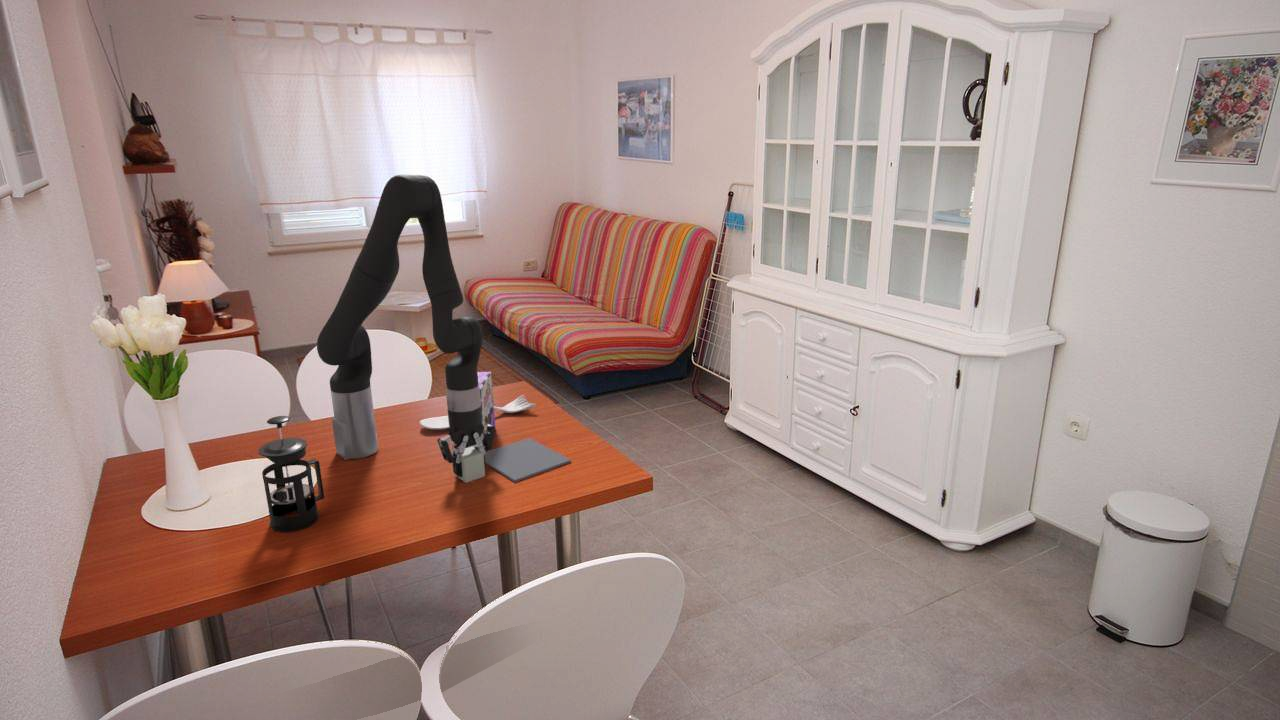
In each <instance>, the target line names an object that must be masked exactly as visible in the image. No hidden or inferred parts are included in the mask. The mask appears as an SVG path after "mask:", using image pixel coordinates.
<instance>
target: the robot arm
mask: <svg viewBox="0 0 1280 720" xmlns="http://www.w3.org/2000/svg"><path fill="white" fill-rule="evenodd" d="M375 211H376V212H375V214H374V218H373V221H372V224H371V227H370V229H369V230H368V233H367V236H366V239H365V240H364V243H363V246H362V247H361V250H360V252H359V254H358V256H357V258H356V260H355V263H354V264H353V267H352V269H351V271H350V274H349V277H348V279H347V281H346V282H345V283H346V284H345V285H344V288H343V291H342V292H341V294H340V296H339V299H338V301H337V303H336V306H335V307H334V309H333V311H332V313H331V315H330V316H329V318H328V320H327V321H326V323H325V325H324V326H323V327H322V329H321V331H320V333H319V335H318V336H317V341H316V350H317V354H318V357H319V358H320V360H321V361H322V362H323V363H324V364H326V365H328V366H335V367H336V366H338V367H337V368H336V370H335V371H334V373H333V374H332V375H331V376H330V379H329V387H330V394H331V402H332V410H333V417H332V418H331V423H332V429H333V430H332V431H333V435H334V436H333V437H334V443H335V449H336V450H335V453H337V454H338V456H340V457H341V458H342V459H344V460H352V459H355V460H356V459H361V458H365V457H366V458H367V457H370V456H371V455H374V454H376V453H377V452H378V451H379V443H378V436H377V428H376V427H377V426H376V420H375V419H376V418H375V410H374V403H373V394H372V385H371V377H372V374H373V361H372V348H371V339H370V336H369V333H368V331H367V330H366V328H365V327H364V325H363V323H364V322H365V320H367V319H368V317H370V315H372V313H373V312H374V311H375V310H376V309H377V308H378V307H379V306H380V305H381V304H382V302H383V301H384V300H385V298H386V297H387V296H388V294H389V293H390V291H391V289H392V287H393V285H394V283H395V281H396V278H397V277H398V274H399V270H400V254H399V250H398V249H399V248H398V245H399V244H398V243H399V240H400V236H401V234H402V233H403V230H404V229H405V226H406V224H407V223H408V222H409V220H410V219H417V221H418V223H419V225H420V228H421V230H422V236H423V246H424V247H423V257H422V258H423V259H422V265H421V266H422V267H421V268H422V269H421V271H422V279H423V282H424V285H425V289H426V292H427V295H428V299H429V301H430V305H431V317H432V318H431V319H432V338H433V342H434V344H435V345H436V347H437V348H438V349H439V350H440V352H442V353H444V354H448V355H449V354H450V355H451V354H455V353H457V354H456V355H455V357H454V358H453V359H451V360H449V361H448V362H447V363H446V365H445V370H444V373H445V381H446V382H445V384H446V385H445V386H446V406H447V416H448V420H449V427H450V428H449V432H448V435H445V437H438V438H437V444H438V447H439V450H440V452H441V455H442V458H443V459H444V460H445V461H446V462H447V463H449V464H452V469H453V470H452V471H453V474H454V475H457V476H458V477H462V476H463V474H462V463H461V457H462V454H464V451H465V448H467V447H469V446H474V448H475V449H478V450H479V451H481V452H483V455H484V468H485V467H486V464H485V453H486V452H487V451H490V450H493V443H494V439H495V437H494V436H495V431H496V430H495V429H496V426H495V427H494V426H492V425H490V424H488V423H487V424H486V425H483V424H482V409H481V396H480V390H479V385H478V372H479V371H478V366H479V361H480V357H481V350H482V344H483V338H484V337H483V330H482V327H481V324H480V323H479V321H477V319H476V318H474V317H473V316H463V317H459V318H454V319H453V313H454V309H457V308H458V307H460V306H461V305H463V303H464V296H463V292H462V289H461V286H460V283H459V280H458V277H457V274H456V271H455V266H454V262H453V259H452V254H451V251H450V244H449V243H450V242H449V239H448V238H449V237H448V233H447V225H446V220H445V213H444V206H443V199H442V195H441V191H440V189H439V187H438V184H437V183H436V181H435V180H434V179H432V178H431V177H430V176H427V175H421V174H396V175H394V176H392V177H390V179H388V180H387V182H386V183H385V185H384V188H383V189H382V192H381V196H380V199H379V201H378V205H377V208H376V210H375ZM482 432H483V433H484V438H483V444H482V442H481V440H480V436H481V434H482ZM451 441H452V442H453V443H452V448H451V449H450V447H451ZM451 450H452V452H451ZM457 476H456V477H457ZM458 477H457V478H458Z"/></svg>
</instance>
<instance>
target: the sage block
mask: <svg viewBox="0 0 1280 720" xmlns="http://www.w3.org/2000/svg"><path fill="white" fill-rule="evenodd" d="M461 463H462V474H463V476H462V477H458V476H457V475H455V474H454V475H455V476H456V478H458V479H460V480H462V481H463V483H466V484H467V483H470V482H472V481H475V480H476V481H477V480H478V479H481V478H484V477H486V471H485V467H484V455H483V452H481V451H479V450H478V449H475V448H474V447H473V446H472V447H468V448H465V451H464V454H462V457H461Z"/></svg>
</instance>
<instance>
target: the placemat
mask: <svg viewBox="0 0 1280 720" xmlns="http://www.w3.org/2000/svg"><path fill="white" fill-rule="evenodd" d="M571 461H572V460H571V459H570V458H568V457H567V456H564V455H563V454H560V453H559V452H557V451H555V450H553V449H552V448H549V447H547V446H546V445H544V444H542V443H540V442H538V441H536V440H534V439H533V438H531V437H529V438H525V439H522V440H519V441H516V442H515V441H514V442H512V443H510V444H506V445H503V446H500V447H497V448H493V449H491V450H490V451H489V450H488V451H487V452H486V453H485V466H488V467H489V468H491V469H493V470H495V471H496V472H498V473H499V474H500V475H503V476H504V477H506V478H507V479H509V480H510V481H512V482H513V483H517V482H520V481H523V480H525V479H528V478H530V477H534V476H537V475H538V474H539V475H540V474H542V473H545V472H547V471H551V470H553V469H555V468H558V467H562V466H564V465H567V464H569V463H571Z"/></svg>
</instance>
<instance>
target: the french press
mask: <svg viewBox="0 0 1280 720" xmlns="http://www.w3.org/2000/svg"><path fill="white" fill-rule="evenodd" d="M290 420H291V417H290V416H287V415H278V416H273V417H271V418H269V419H267V421H266V423H267V424H268V425H276V428H277V429H278V430H279V431H278V432H279V436H280V439H275V440H272V441H269V442H267V443H264V444H262V445H261V446H260V447H259V448H258V450H257V451H258V455H260V456H261V457H265V458H267V459H268V460H269V461H270V462H271V463H272V464H270V465H268V466H266V467H265V468H264V469H263V470H262V474H261V475H262V479H263V485H264V491H265V496H266V501H267V508H268V514H269V515H268V516H269V521H270V522H269V527H270V529H271V528H272V529H273V530H272V529H271V530H272V531H274V532H277V531H279V532H278V533H293V532H292V531H294V532H297V530H298V531H302V530H305V529H307V528H309V527H311V526H313V525H314V524H316V523H317V522H318V520H319V519H320V512H319V511H318V506H317V502H319V501H321V500H324V499H325V493H324V485H323V479H322V474H321V465H320V461H319V460H318V459H316V458H312V459H309V460H306V459H303V458H304V457H305V456H306V454H307V451H306V448H307V446H308V441H307V440H306V439H303V438H300V437H285V438H283V433H282V428H283V424H285V423H287V422H289V421H290ZM311 465H314V470H315V476H316V483H317V489H318V495H316V496H315V490H314V483H313V482H314V481H313V476H312V467H311ZM291 466H301V467H302V466H303V467H305V470H304V471H301V472H300V473H297V474H294V475H291V476H289V471H288V467H291ZM283 468H285V474H286V477H285V474H284V470H283ZM272 471H273V473H274V477H269V476H266V475H268V474H269V473H271V472H272ZM306 477H307V484H306V483H303V479H305V478H306ZM269 485H275V486H276V487H275V488H276V489H274V490H272V491H271V492H270V486H269ZM293 513H297V514H296V515H292V516H286V515H289V514H293ZM316 521H317V522H316ZM304 528H305V529H304ZM301 529H302V530H301Z"/></svg>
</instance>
